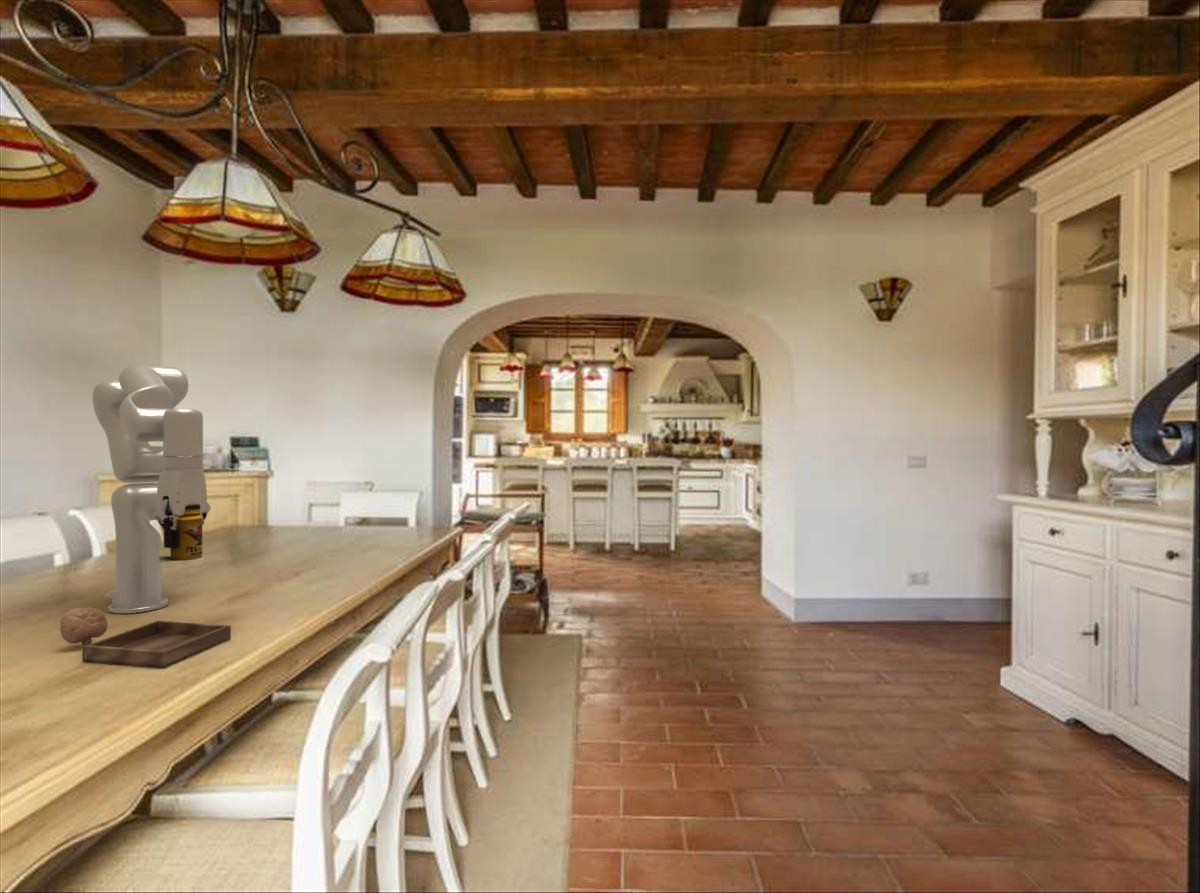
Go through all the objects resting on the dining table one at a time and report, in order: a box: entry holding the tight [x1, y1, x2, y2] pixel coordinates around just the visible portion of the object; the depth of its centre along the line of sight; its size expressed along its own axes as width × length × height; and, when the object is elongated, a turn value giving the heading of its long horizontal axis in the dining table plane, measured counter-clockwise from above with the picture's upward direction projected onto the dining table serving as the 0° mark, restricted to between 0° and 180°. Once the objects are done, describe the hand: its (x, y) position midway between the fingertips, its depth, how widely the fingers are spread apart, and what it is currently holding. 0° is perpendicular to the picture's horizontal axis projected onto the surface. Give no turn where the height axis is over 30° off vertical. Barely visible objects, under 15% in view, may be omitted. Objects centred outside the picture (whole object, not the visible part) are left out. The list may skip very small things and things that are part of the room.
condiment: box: [159, 504, 206, 563], centre depth 145 cm, size 7×8×12 cm
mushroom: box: [59, 606, 109, 646], centre depth 137 cm, size 8×6×8 cm
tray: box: [81, 620, 232, 669], centre depth 136 cm, size 18×18×3 cm
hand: (183, 544), depth 146 cm, fingers closed on condiment, 6 cm apart
